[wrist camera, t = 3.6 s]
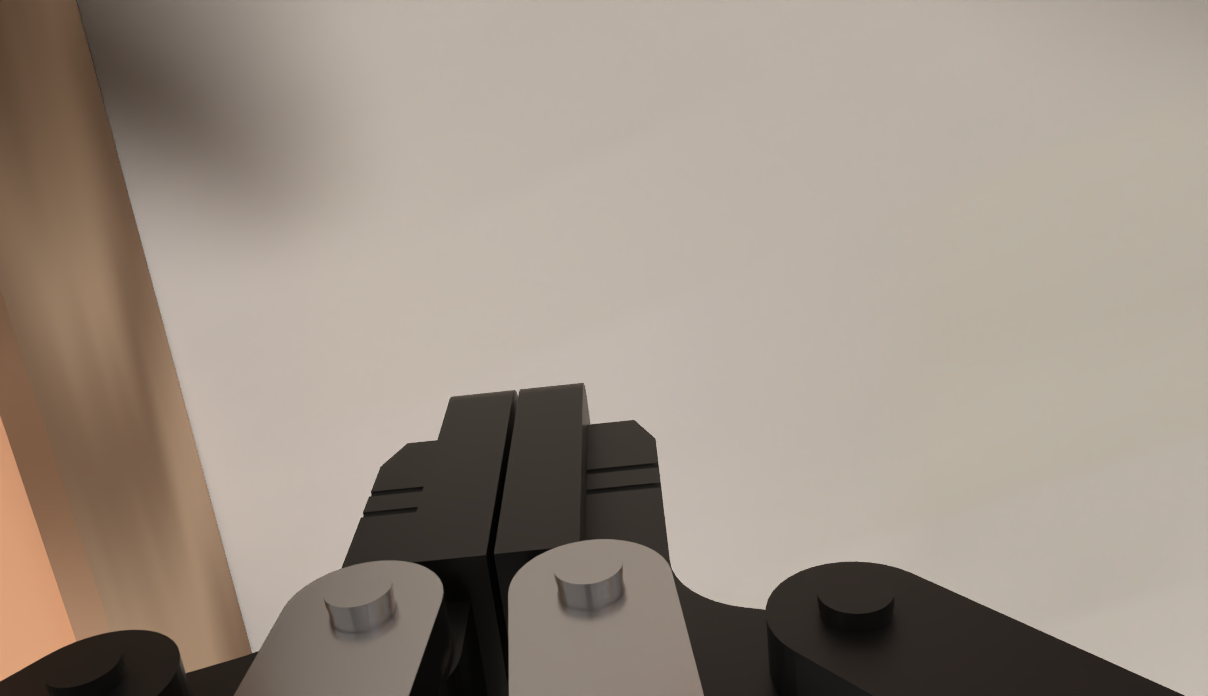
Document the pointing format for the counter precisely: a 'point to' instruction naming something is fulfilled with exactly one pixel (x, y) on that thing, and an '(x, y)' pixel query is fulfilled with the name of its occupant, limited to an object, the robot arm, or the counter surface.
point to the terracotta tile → (25, 578)
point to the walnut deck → (96, 363)
